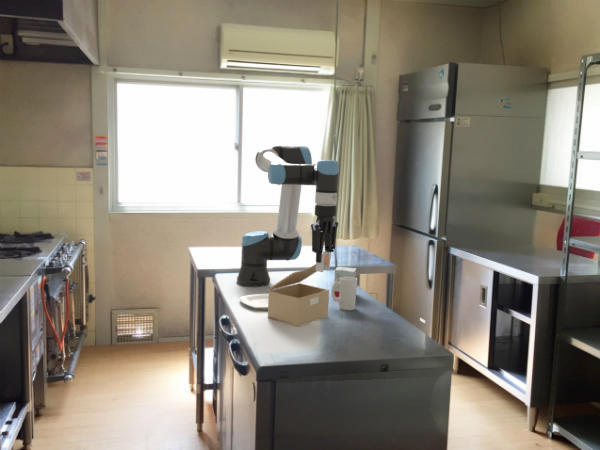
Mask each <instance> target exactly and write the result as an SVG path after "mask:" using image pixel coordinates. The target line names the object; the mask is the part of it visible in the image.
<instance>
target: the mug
mask: <svg viewBox="0 0 600 450" xmlns="http://www.w3.org/2000/svg"><path fill="white" fill-rule="evenodd" d="M337 285H339V286H340V294H339V297H335V294H334V289H335V287H336V286H337ZM357 287H358V278H357V277H356V278H354V277H341V278H340V282H337V281H335V282H334V281H333V285H332V286H331V292H330V293H331V296H332V299H333V301H334V302H335V303H336V302H338V308H339V309H340V310H342V311H353V310H355V309H356V301H357V300H356V299H357Z"/></svg>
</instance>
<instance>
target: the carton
mask: <svg viewBox="0 0 600 450" xmlns="http://www.w3.org/2000/svg"><path fill="white" fill-rule="evenodd" d="M268 294H269V298H268V309H267V319H271V320H274V321H277V322H281V323H284V324H287V325H291V326H295V327H300V326H304V325H306V324H308V323H311V322H314V321H318V320H320V319H321V320H322V319H323V318H326V317H328V316H329V304H330V303H329V299H330V290H329V289H326V288H321V287H318V286H314V285H309V284H304V283H301V282H299V283H295V284H292V285H288V286H284V287H280V288H276V289H272V290H268Z"/></svg>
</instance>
